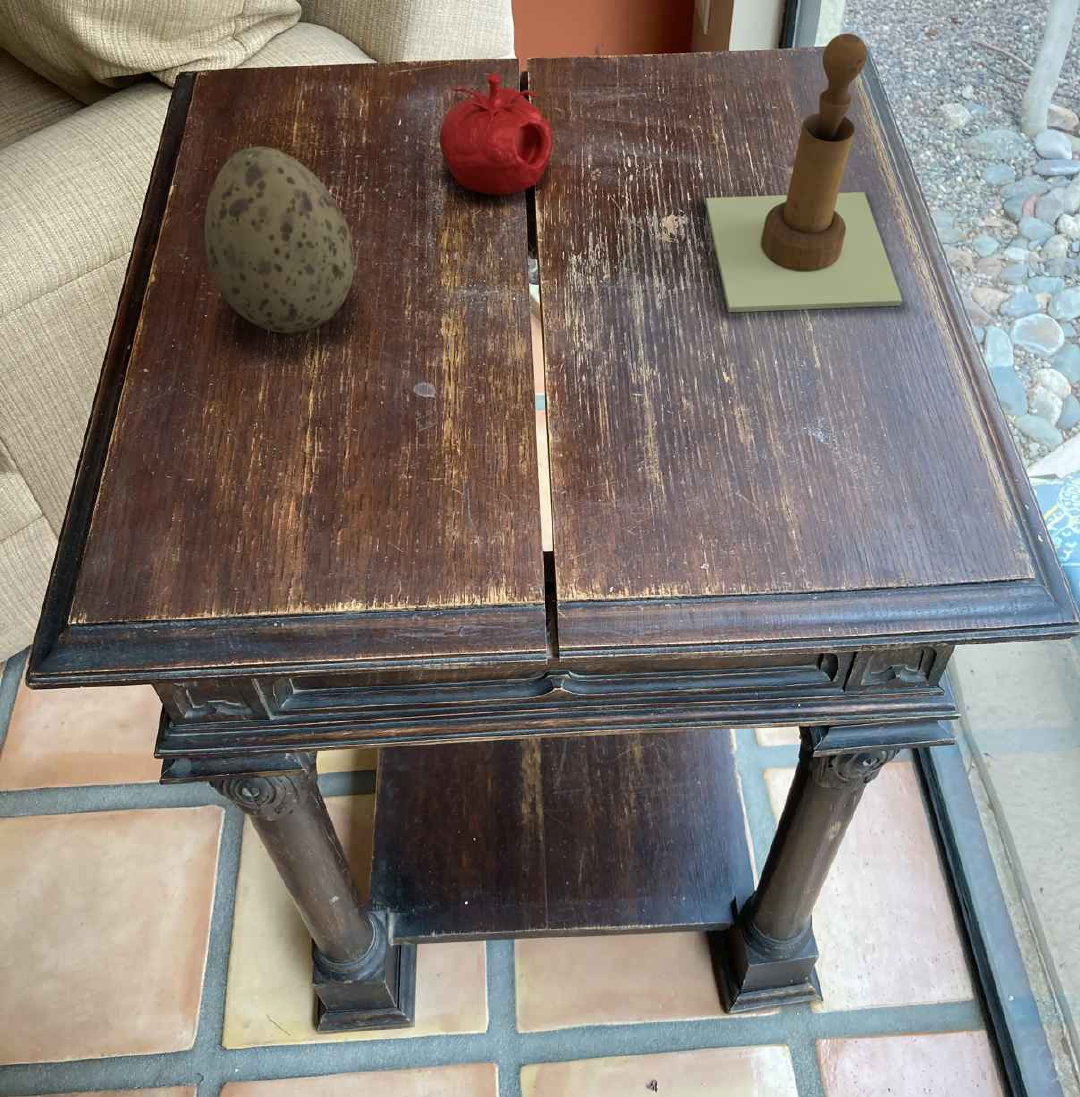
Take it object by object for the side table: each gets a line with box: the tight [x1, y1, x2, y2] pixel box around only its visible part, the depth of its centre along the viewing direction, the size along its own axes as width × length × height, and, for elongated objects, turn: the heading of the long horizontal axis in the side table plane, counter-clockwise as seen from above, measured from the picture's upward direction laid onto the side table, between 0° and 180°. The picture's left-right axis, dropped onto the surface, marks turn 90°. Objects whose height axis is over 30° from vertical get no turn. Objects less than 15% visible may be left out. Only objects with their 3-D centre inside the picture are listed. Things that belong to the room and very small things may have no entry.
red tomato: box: [439, 72, 553, 196], centre depth 91 cm, size 10×10×9 cm
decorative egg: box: [204, 146, 355, 334], centre depth 79 cm, size 11×11×15 cm
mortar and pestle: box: [761, 32, 868, 271], centre depth 81 cm, size 7×6×18 cm
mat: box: [704, 191, 903, 313], centre depth 88 cm, size 14×14×1 cm
